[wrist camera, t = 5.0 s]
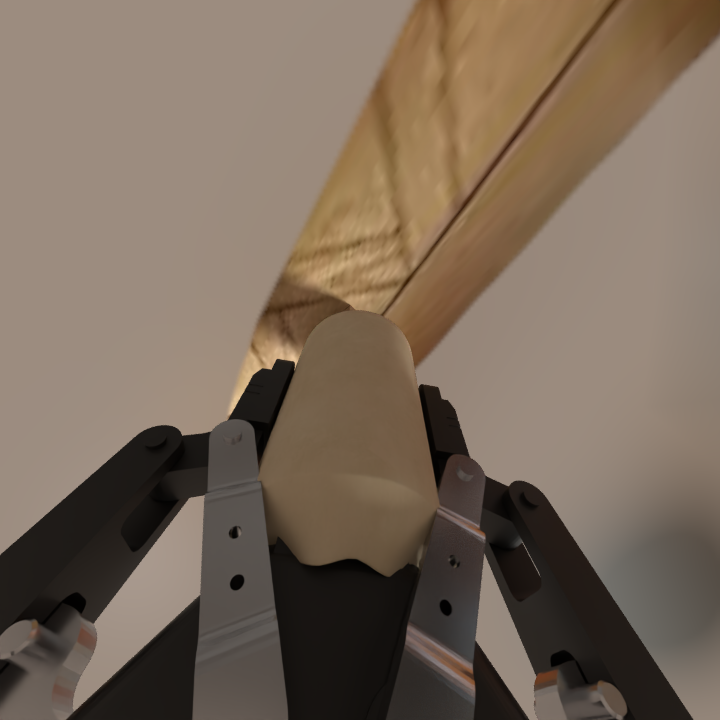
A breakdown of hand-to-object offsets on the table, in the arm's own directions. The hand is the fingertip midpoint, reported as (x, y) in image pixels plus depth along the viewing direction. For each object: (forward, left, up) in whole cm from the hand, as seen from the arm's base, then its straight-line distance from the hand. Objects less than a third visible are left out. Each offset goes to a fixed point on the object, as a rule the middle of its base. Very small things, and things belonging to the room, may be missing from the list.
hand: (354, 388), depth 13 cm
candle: (0, 0, -3) cm, 3 cm away
